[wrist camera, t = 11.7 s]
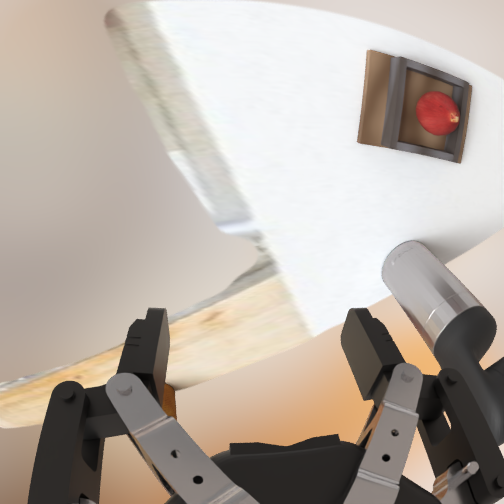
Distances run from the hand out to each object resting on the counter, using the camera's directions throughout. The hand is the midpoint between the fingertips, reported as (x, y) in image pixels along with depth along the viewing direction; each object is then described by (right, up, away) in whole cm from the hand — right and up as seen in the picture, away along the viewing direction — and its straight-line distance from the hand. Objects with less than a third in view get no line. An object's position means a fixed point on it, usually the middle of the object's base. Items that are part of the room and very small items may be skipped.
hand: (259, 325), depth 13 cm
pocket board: (+23, +23, +22) cm, 39 cm away
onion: (+22, +22, +21) cm, 38 cm away
